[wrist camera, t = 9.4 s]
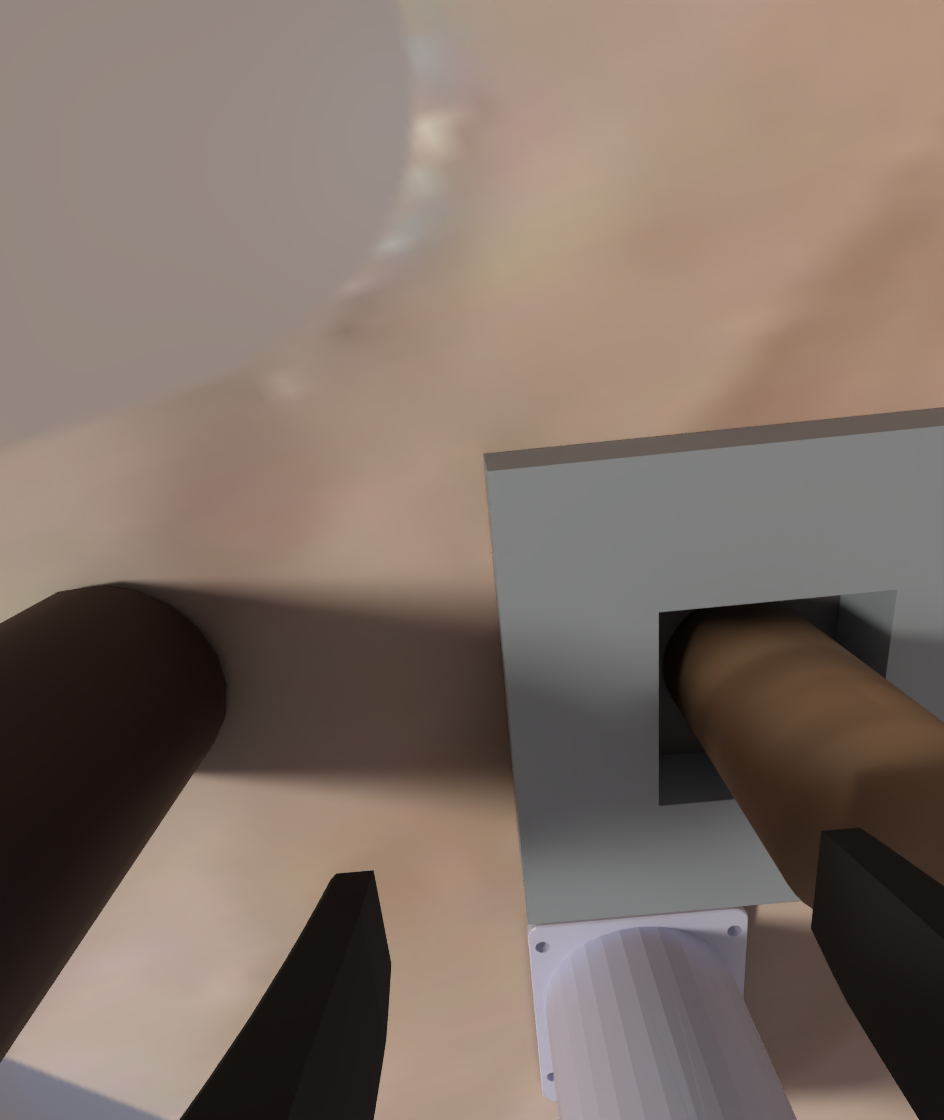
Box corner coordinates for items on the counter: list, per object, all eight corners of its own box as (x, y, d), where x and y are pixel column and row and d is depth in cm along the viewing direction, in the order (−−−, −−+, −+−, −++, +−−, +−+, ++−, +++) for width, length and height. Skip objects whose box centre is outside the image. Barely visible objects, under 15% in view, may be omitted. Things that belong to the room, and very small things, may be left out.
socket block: (917, 813, 21) (989, 884, 18) (519, 849, 21) (528, 924, 18) (984, 403, 16) (1094, 410, 14) (483, 454, 17) (487, 471, 14)
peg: (799, 719, 19) (986, 917, 12) (659, 726, 19) (767, 928, 12) (818, 588, 17) (1040, 730, 11) (666, 596, 17) (793, 742, 11)
